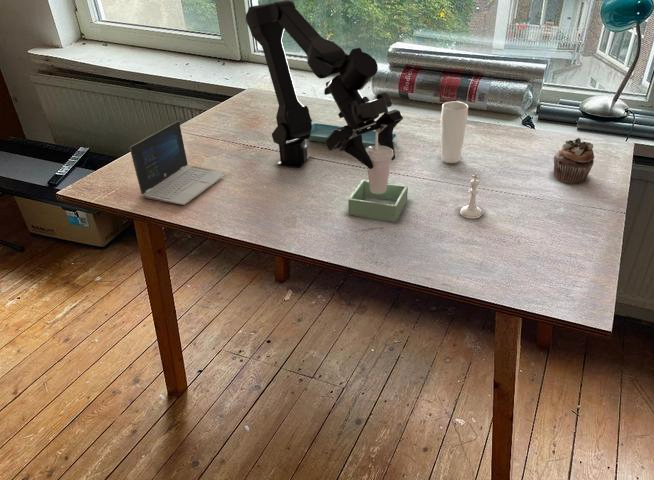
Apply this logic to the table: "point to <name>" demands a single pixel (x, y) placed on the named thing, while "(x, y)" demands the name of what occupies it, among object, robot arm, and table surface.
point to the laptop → (169, 168)
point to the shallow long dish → (324, 130)
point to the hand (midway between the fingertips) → (382, 163)
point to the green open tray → (375, 208)
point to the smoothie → (379, 166)
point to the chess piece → (472, 201)
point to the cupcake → (573, 161)
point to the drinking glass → (453, 130)
